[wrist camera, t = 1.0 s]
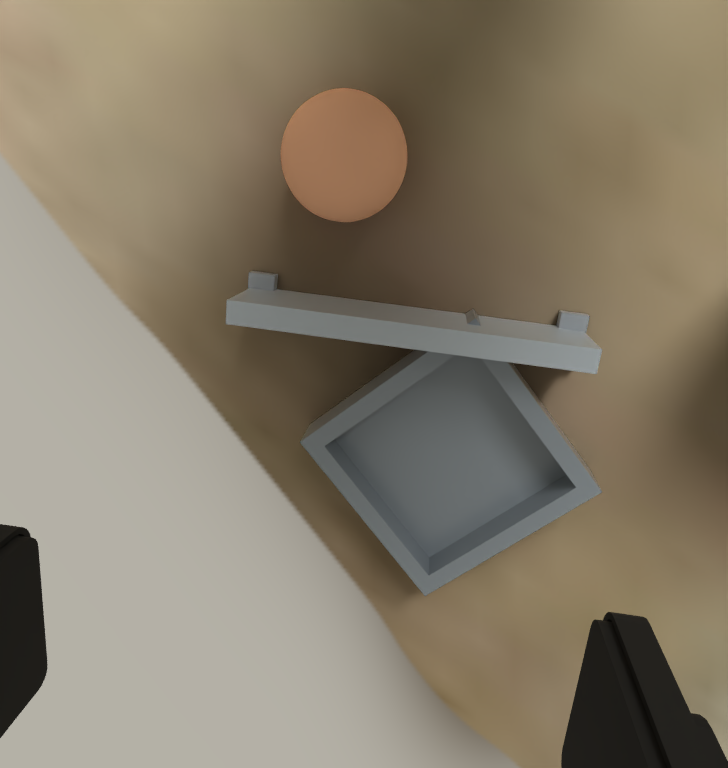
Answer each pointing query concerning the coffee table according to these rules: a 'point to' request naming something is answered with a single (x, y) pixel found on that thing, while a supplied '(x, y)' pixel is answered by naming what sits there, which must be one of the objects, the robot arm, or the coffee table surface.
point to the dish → (449, 461)
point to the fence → (415, 327)
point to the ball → (344, 155)
